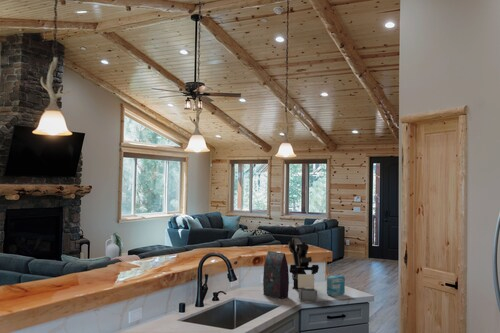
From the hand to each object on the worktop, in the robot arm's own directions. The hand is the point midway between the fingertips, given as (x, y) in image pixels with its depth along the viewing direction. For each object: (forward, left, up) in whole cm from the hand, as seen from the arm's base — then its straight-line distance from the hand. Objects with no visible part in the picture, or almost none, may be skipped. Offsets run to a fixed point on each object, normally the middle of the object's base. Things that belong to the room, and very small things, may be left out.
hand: (305, 279), depth 286 cm
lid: (+1, -1, -1) cm, 1 cm away
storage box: (+4, -5, -11) cm, 13 cm away
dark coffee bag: (-17, -9, -11) cm, 22 cm away
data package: (+12, +19, -11) cm, 25 cm away
